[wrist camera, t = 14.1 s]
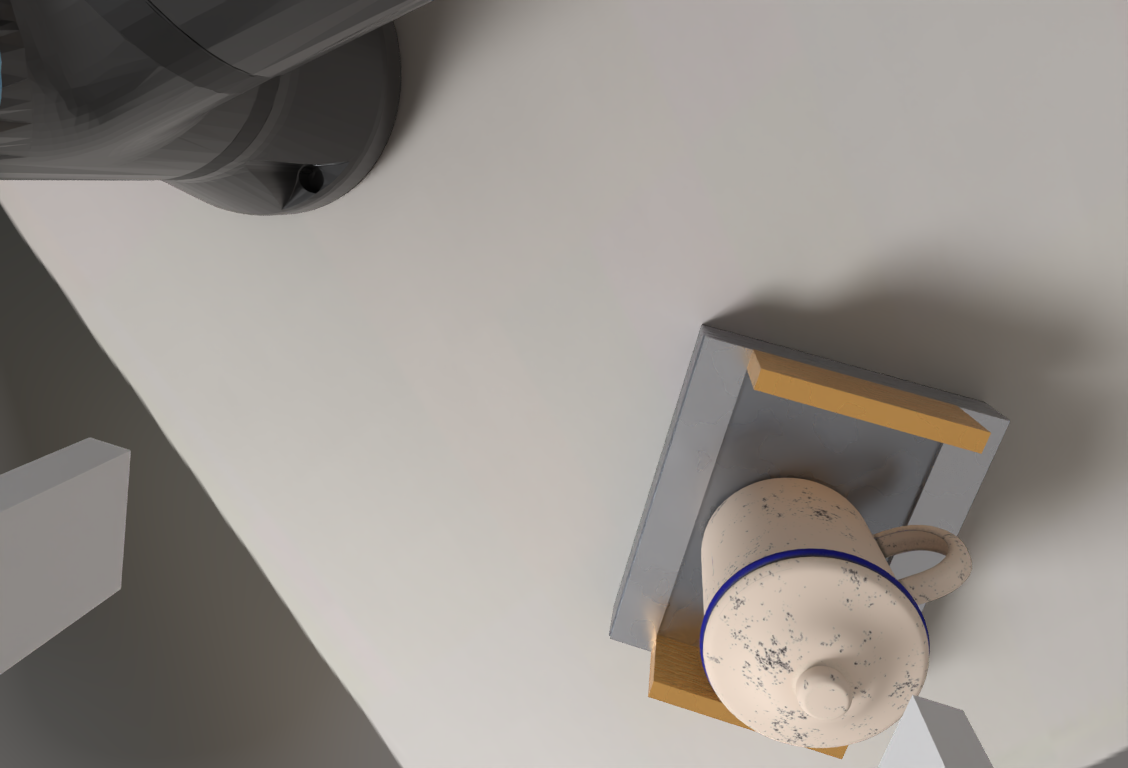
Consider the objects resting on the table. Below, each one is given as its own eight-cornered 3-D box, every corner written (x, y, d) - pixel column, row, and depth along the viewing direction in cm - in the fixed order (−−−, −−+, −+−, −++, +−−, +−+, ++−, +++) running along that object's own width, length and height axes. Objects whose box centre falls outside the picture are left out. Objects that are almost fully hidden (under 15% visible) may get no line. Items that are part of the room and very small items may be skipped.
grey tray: (613, 606, 44) (600, 681, 37) (701, 324, 38) (705, 352, 32) (859, 683, 42) (891, 775, 36) (984, 402, 37) (1050, 449, 31)
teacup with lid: (739, 649, 40) (761, 828, 29) (667, 510, 38) (661, 641, 27) (960, 573, 37) (1081, 741, 26) (891, 419, 35) (986, 526, 24)
